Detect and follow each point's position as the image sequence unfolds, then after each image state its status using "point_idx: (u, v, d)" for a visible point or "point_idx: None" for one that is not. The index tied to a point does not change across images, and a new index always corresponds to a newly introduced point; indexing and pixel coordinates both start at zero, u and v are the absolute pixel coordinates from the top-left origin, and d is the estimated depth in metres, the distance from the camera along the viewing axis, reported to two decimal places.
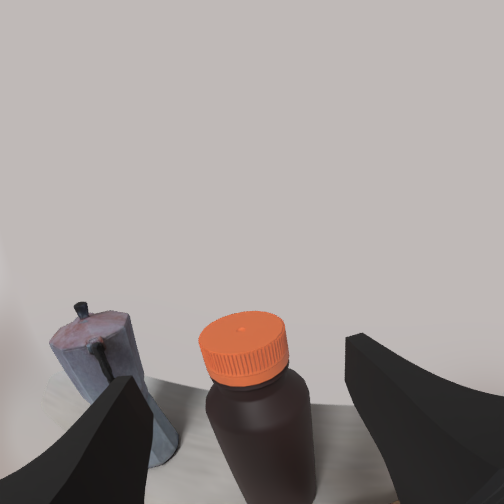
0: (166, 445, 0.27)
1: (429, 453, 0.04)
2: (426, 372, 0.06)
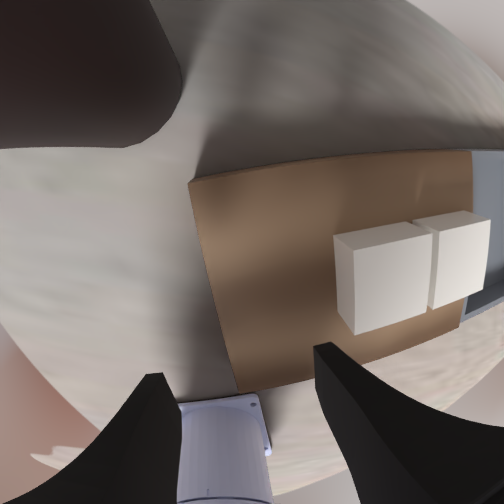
0: None
1: (383, 474, 0.04)
2: (389, 387, 0.06)
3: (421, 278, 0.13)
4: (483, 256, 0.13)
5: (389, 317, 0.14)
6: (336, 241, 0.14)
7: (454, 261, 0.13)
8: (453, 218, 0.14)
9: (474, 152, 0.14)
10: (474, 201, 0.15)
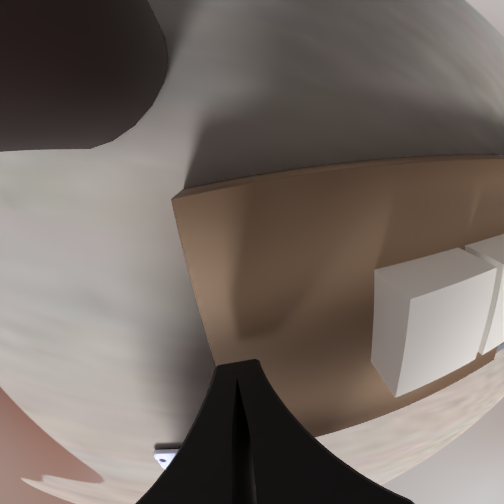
0: None
1: None
2: (288, 417, 0.06)
3: (478, 323, 0.09)
4: None
5: (437, 372, 0.09)
6: (379, 278, 0.10)
7: None
8: None
9: None
10: None
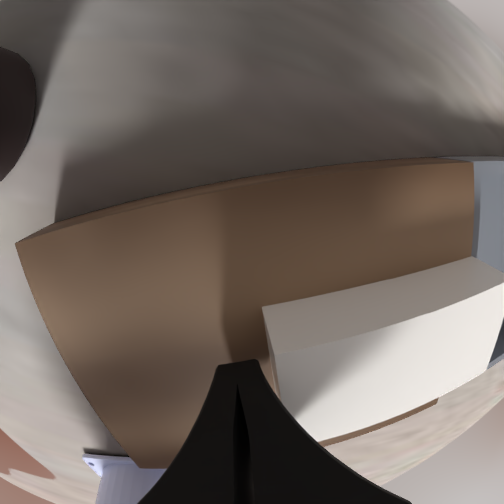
0: None
1: None
2: (287, 418, 0.06)
3: (401, 377, 0.08)
4: (494, 331, 0.08)
5: (344, 427, 0.08)
6: (264, 318, 0.09)
7: (448, 349, 0.08)
8: (455, 276, 0.09)
9: (477, 163, 0.09)
10: (474, 240, 0.10)
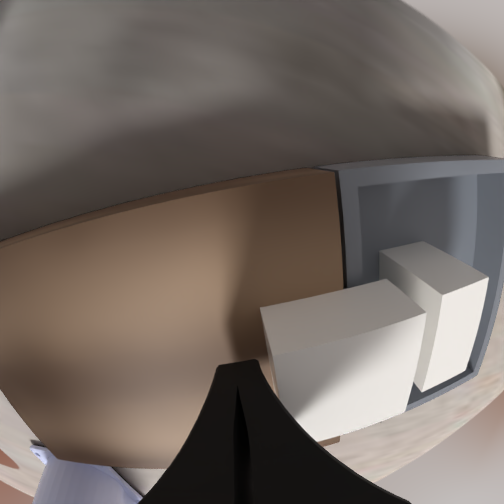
0: None
1: None
2: (286, 418, 0.06)
3: (400, 376, 0.08)
4: None
5: (344, 427, 0.08)
6: (262, 319, 0.09)
7: None
8: (425, 262, 0.10)
9: (352, 172, 0.09)
10: (354, 270, 0.10)
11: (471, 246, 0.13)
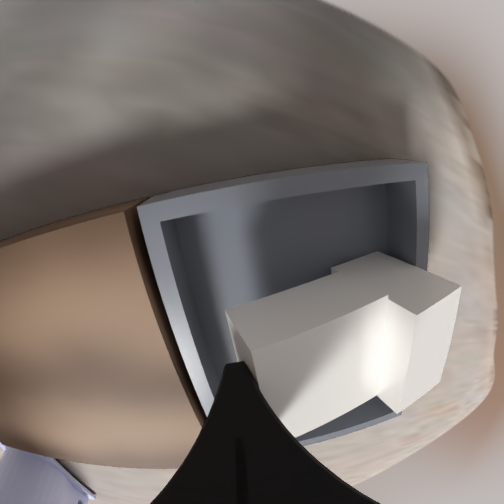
0: None
1: None
2: (273, 420, 0.06)
3: (371, 359, 0.09)
4: None
5: (324, 416, 0.09)
6: (229, 321, 0.09)
7: None
8: (386, 276, 0.10)
9: (151, 206, 0.08)
10: (172, 306, 0.09)
11: None
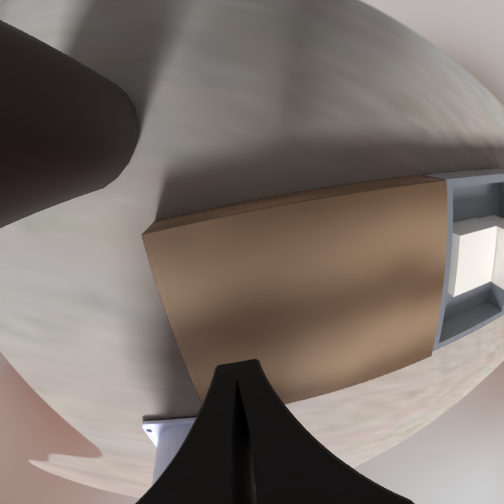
0: None
1: None
2: (288, 417, 0.06)
3: (490, 256, 0.16)
4: None
5: (472, 283, 0.17)
6: None
7: None
8: (501, 223, 0.16)
9: (451, 180, 0.15)
10: (449, 232, 0.16)
11: None
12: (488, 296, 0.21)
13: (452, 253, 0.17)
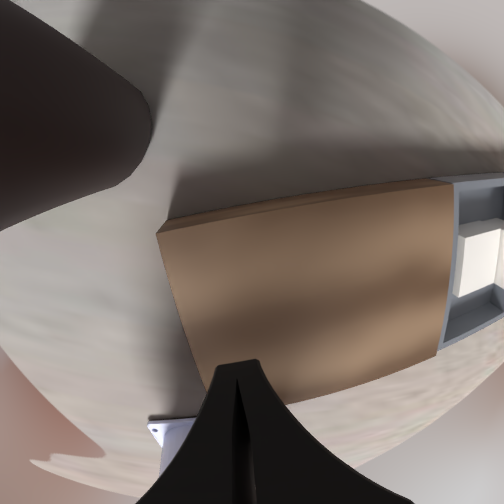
0: None
1: None
2: (288, 417, 0.06)
3: (493, 258, 0.17)
4: None
5: (476, 285, 0.17)
6: None
7: None
8: None
9: (457, 184, 0.15)
10: (455, 234, 0.16)
11: None
12: (490, 297, 0.21)
13: (457, 255, 0.17)
